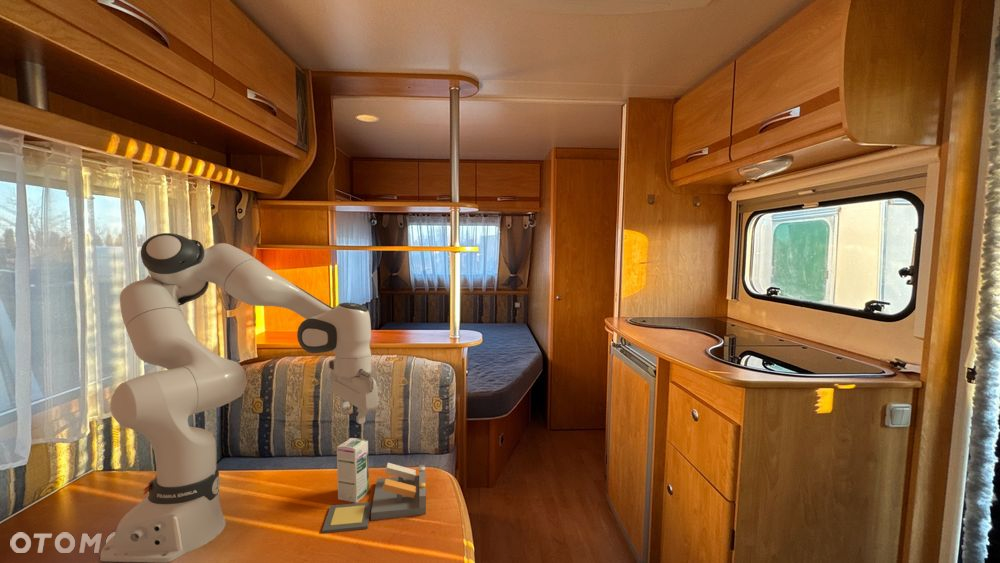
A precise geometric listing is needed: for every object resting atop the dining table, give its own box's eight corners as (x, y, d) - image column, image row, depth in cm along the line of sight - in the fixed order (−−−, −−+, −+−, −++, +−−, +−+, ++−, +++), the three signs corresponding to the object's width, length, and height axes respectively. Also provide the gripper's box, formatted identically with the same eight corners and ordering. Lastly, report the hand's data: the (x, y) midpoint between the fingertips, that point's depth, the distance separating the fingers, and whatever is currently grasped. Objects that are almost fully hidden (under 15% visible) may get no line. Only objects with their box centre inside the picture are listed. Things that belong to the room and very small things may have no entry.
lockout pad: (322, 533, 100) (322, 529, 100) (330, 507, 109) (330, 505, 109) (367, 528, 101) (367, 525, 101) (371, 504, 111) (371, 501, 111)
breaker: (385, 473, 116) (387, 467, 116) (385, 468, 119) (387, 462, 119) (413, 480, 118) (415, 475, 118) (413, 475, 120) (415, 470, 120)
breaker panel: (371, 520, 104) (370, 498, 104) (377, 485, 120) (377, 466, 120) (425, 515, 107) (426, 493, 107) (424, 481, 123) (424, 462, 122)
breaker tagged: (382, 490, 108) (384, 484, 108) (383, 484, 110) (385, 478, 110) (413, 498, 109) (415, 492, 109) (413, 492, 112) (415, 486, 112)
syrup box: (356, 504, 111) (356, 448, 110) (336, 500, 113) (336, 445, 112) (369, 492, 117) (369, 439, 116) (350, 488, 118) (350, 436, 117)
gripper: (384, 372, 107) (384, 426, 108) (348, 356, 122) (348, 405, 123) (360, 376, 103) (360, 433, 104) (325, 360, 118) (326, 410, 119)
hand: (353, 418), depth 113 cm, fingers open, 7 cm apart
